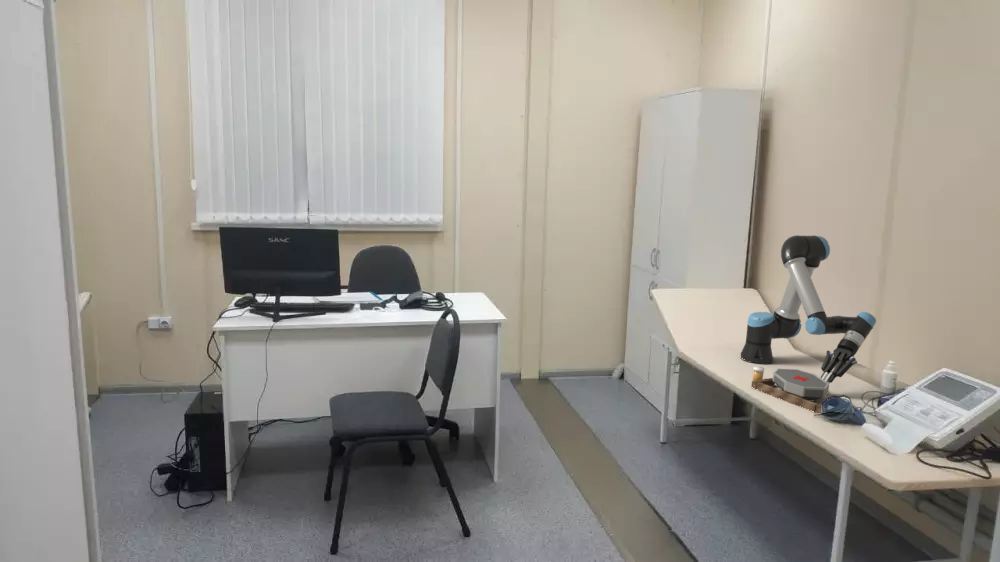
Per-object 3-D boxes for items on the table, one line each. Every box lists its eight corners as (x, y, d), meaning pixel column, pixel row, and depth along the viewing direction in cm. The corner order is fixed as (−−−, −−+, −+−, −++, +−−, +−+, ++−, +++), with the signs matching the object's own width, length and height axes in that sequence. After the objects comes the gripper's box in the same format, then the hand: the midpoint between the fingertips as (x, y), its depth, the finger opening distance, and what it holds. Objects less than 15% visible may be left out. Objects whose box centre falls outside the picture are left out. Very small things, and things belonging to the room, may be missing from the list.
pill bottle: (749, 382, 285) (751, 367, 284) (756, 381, 287) (758, 366, 286) (757, 386, 281) (759, 370, 280) (764, 384, 283) (766, 368, 282)
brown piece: (751, 387, 278) (752, 381, 278) (770, 384, 284) (771, 378, 283) (820, 414, 249) (821, 407, 249) (840, 410, 255) (841, 403, 254)
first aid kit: (834, 406, 259) (805, 386, 284) (836, 388, 258) (808, 369, 282) (790, 404, 259) (765, 384, 284) (792, 386, 258) (767, 368, 282)
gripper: (832, 334, 282) (803, 376, 277) (863, 342, 270) (833, 386, 265) (838, 344, 286) (810, 386, 280) (869, 352, 274) (840, 396, 268)
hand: (821, 386), depth 273 cm, fingers closed
